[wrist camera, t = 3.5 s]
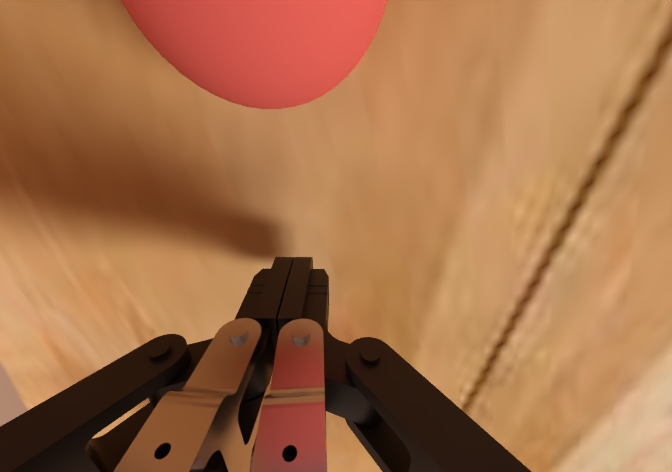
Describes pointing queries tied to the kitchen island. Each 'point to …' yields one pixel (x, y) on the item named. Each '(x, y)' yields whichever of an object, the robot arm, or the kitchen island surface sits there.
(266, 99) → the ball
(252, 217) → the kitchen island surface
